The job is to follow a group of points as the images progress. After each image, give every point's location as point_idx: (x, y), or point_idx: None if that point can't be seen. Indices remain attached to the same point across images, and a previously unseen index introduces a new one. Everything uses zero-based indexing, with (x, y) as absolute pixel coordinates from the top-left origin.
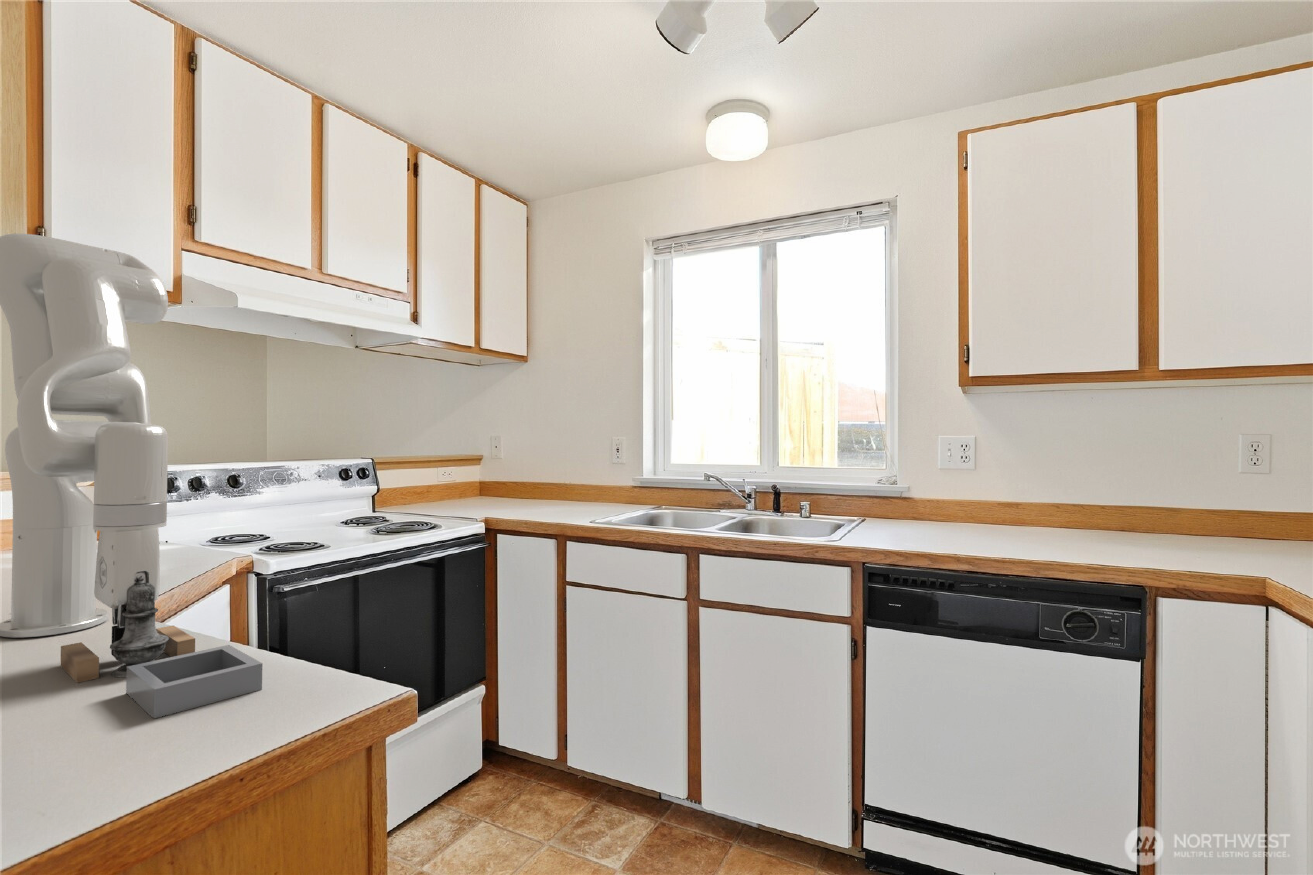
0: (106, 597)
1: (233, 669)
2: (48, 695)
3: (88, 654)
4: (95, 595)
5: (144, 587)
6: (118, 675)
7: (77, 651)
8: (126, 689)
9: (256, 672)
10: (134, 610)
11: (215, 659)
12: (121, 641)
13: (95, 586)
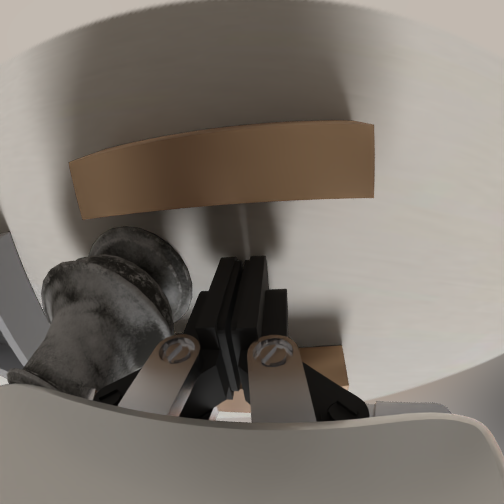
0: (46, 443)
1: None
2: (56, 97)
3: (136, 195)
4: (430, 432)
5: None
6: (100, 237)
7: (212, 164)
8: (3, 235)
9: None
10: None
11: None
12: (65, 297)
13: (463, 496)
